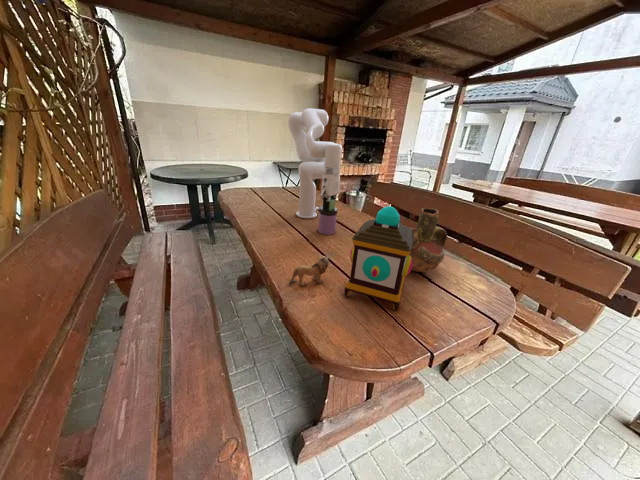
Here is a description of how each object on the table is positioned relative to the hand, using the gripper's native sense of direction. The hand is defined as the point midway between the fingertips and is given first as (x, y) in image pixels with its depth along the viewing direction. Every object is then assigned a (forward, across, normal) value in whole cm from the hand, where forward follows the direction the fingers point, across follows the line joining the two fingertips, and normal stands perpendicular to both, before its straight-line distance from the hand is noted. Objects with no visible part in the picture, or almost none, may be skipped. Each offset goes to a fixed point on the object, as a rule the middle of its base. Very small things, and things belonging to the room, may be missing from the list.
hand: (328, 207), depth 132 cm
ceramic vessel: (+13, -7, -49) cm, 51 cm away
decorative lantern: (+14, -32, -44) cm, 56 cm away
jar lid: (+1, 0, 0) cm, 1 cm away
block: (+1, 0, 0) cm, 1 cm away
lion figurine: (+13, -43, -24) cm, 51 cm away
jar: (+13, 0, 0) cm, 13 cm away
